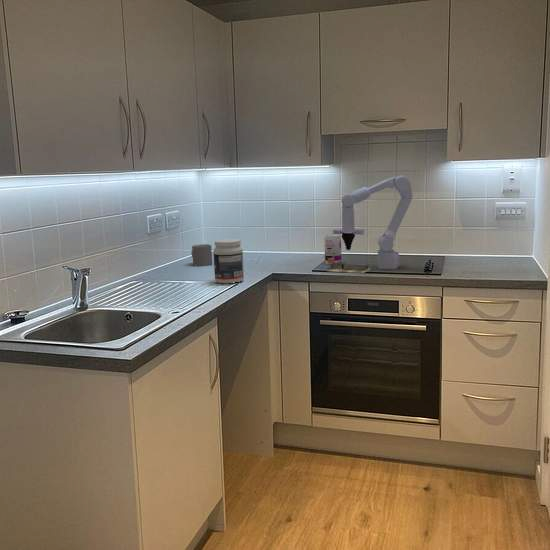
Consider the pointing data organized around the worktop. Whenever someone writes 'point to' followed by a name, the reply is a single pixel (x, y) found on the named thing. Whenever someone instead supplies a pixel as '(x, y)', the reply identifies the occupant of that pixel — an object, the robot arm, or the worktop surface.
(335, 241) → the supplement can
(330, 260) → the tab
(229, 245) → the supplement tub
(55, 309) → the worktop surface
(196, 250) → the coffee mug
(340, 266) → the tongs body
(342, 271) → the board
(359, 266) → the bar
